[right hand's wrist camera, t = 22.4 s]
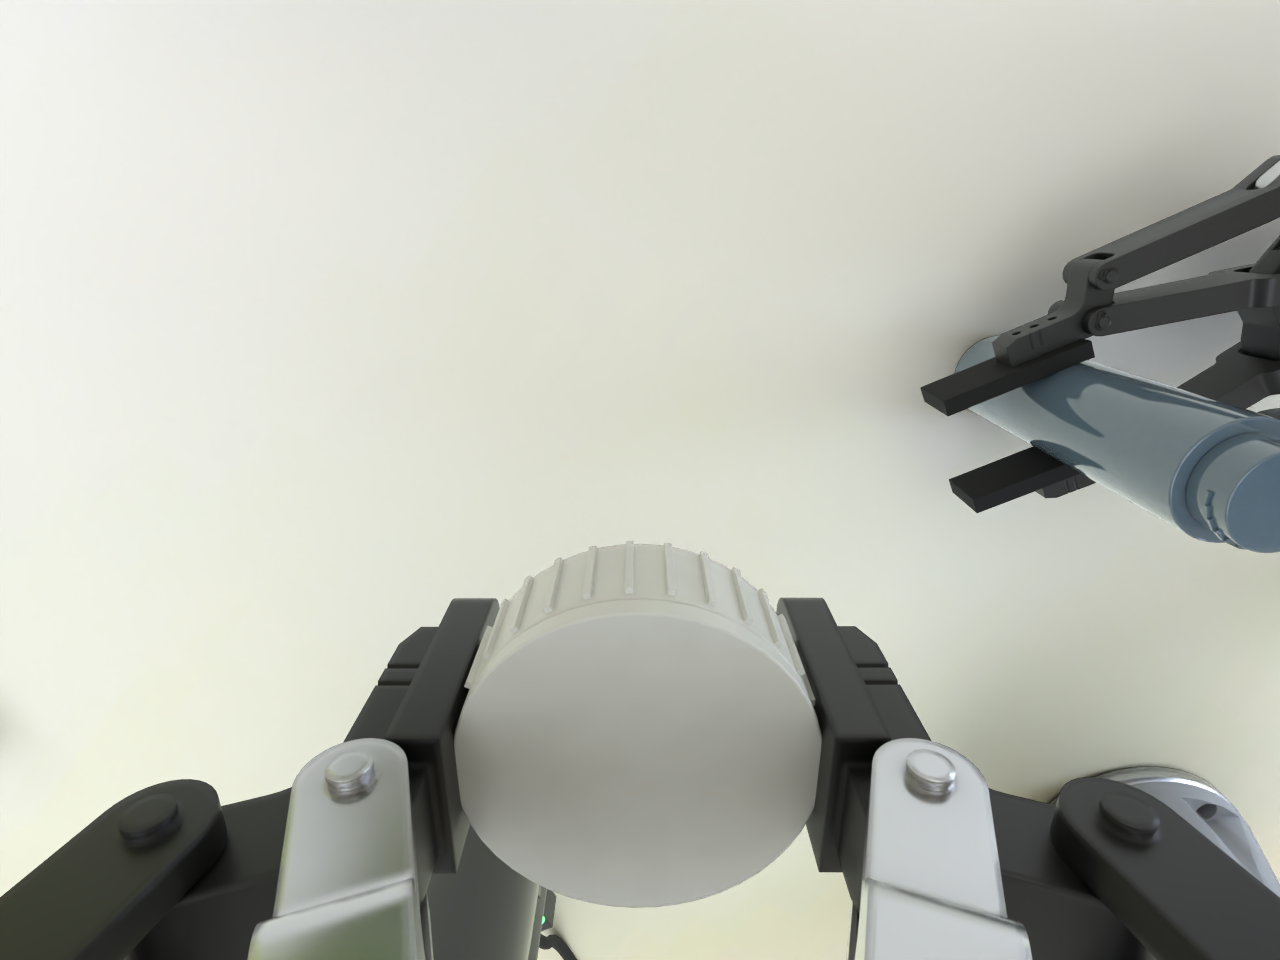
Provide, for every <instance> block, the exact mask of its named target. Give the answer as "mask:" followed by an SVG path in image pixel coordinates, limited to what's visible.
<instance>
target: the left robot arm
mask: <svg viewBox="0 0 1280 960" xmlns="http://www.w3.org/2000/svg"><path fill="white" fill-rule="evenodd" d="M1279 217H1280V155H1277V156H1273V157H1271V158H1269V159H1268V160H1266V161H1265V162H1264V163H1263V164H1262V165H1260V166H1259V167H1258V168H1257V169H1256V170H1254V171H1253V172H1252V173H1251V174H1250V175H1248V176H1247V177H1246V178H1245V179H1244V180H1242V181H1241V182H1240V183H1239V184H1237V185H1236V186H1235V187H1234V188H1233V189H1231V190H1229V191H1227V192H1225V193H1222V194H1220V195H1218V196H1216V197H1213V198H1211V199H1209V200H1207V201H1204V202H1202V203H1200V204H1198V205H1195V206H1193V207H1191V208H1188V209H1186V210H1184V211H1182V212H1179V213H1177V214H1175V215H1173V216H1170V217H1168V218H1166V219H1164V220H1161V221H1159V222H1157V223H1154V224H1152V225H1150V226H1148V227H1145V228H1143V229H1141V230H1139V231H1136V232H1134V233H1132V234H1130V235H1127V236H1125V237H1123V238H1121V239H1118V240H1116V241H1114V242H1111V243H1109V244H1107V245H1105V246H1102V247H1100V248H1098V249H1096V250H1093V251H1091V252H1089V253H1087V254H1084V255H1082V256H1080V257H1077V258H1075V259H1073V260H1072V261H1070V262H1068V264H1067V265H1066V266H1065V268H1064V271H1063V279H1064V281H1065V283H1067V284H1068V286H1067V293H1066V298H1065V301H1062V300H1060V301H1058V302H1055V303H1054V304H1053V305H1052V306H1051V307H1050V309H1049V311H1048V315H1046V316H1044V317H1041V318H1039V319H1037V320H1034V321H1032V322H1029V323H1027V324H1025V325H1023V326H1020V327H1017V328H1015V329H1013V330H1010V331H1008V332H1005V333H1003V334H1001V335H1000V336H999V337H998V338H996V339H995V340H994V341H993V342H992V346H993V350H994V354H995V357H994V358H991V359H989V360H986V361H984V362H981V363H979V364H977V365H974V366H972V367H969V368H967V369H964V370H962V371H960V372H957V373H955V374H952V375H950V376H947V377H945V378H943V379H940V380H938V381H935V382H933V383H930V384H928V385H926V386H923V387H921V391H922V394H923V398H924V401H925V402H926V403H928V404H929V405H931V406H933V407H934V408H936V409H937V410H939V411H941V412H942V413H944V414H945V415H947V416H950V415H952V414H955V413H957V412H960V411H962V410H965V409H967V408H970V407H972V406H975V405H977V404H980V403H982V402H985V401H987V400H990V399H992V398H995V397H997V396H999V395H1002V394H1004V393H1007V392H1009V391H1012V390H1014V389H1017V388H1019V387H1022V386H1024V385H1027V384H1029V383H1032V382H1034V381H1037V380H1039V379H1042V378H1044V377H1047V376H1049V375H1052V374H1054V373H1056V372H1059V371H1061V370H1064V369H1066V368H1069V367H1071V366H1074V365H1076V364H1079V363H1081V362H1084V361H1086V360H1089V359H1091V358H1094V357H1095V356H1094V351H1093V347H1092V342H1091V341H1089V340H1085V339H1086V338H1088V337H1091V336H1093V335H1094V336H1105V335H1111V334H1116V333H1121V332H1126V331H1132V330H1137V329H1142V328H1147V327H1153V326H1158V325H1163V324H1168V323H1174V322H1179V321H1184V320H1189V319H1195V318H1200V317H1205V316H1210V315H1216V314H1221V313H1226V312H1231V311H1238V313H1239V315H1240V317H1241V319H1242V321H1243V328H1242V335H1241V342H1239V343H1237V344H1236V345H1234V346H1232V347H1231V348H1229V349H1228V350H1226V351H1224V352H1223V353H1221V354H1220V355H1218V356H1217V358H1216V363H1215V364H1214V365H1213V366H1211V367H1210V368H1208V369H1206V370H1205V371H1203V372H1202V373H1200V374H1198V375H1197V376H1195V377H1193V378H1192V379H1190V380H1189V381H1187V382H1185V383H1184V384H1182V385H1180V386H1179V387H1177V388H1179V389H1182V390H1185V391H1188V392H1192V393H1195V394H1198V395H1201V396H1205V397H1208V398H1211V399H1214V400H1218V401H1221V402H1224V403H1227V404H1230V405H1234V406H1237V407H1240V408H1243V409H1246V408H1248V407H1250V406H1251V405H1253V404H1255V403H1256V402H1258V401H1260V400H1261V399H1263V398H1265V397H1267V396H1269V395H1275V394H1280V236H1279V237H1278V238H1277V239H1276V240H1275V241H1274V243H1273V244H1272V245H1271V246H1270V247H1269V248H1268V250H1267V251H1266V252H1265V253H1264V254H1263V256H1262V257H1261V258H1260V259H1259V260H1258V261H1257V263H1256V264H1251V265H1246V266H1241V267H1236V268H1230V269H1225V270H1220V271H1215V272H1211V273H1209V275H1207V276H1202V277H1197V278H1191V279H1186V280H1181V281H1176V282H1171V283H1166V284H1160V285H1155V286H1150V287H1145V288H1140V289H1135V290H1130V291H1124V292H1119V293H1114V289H1115V288H1117V287H1120V286H1122V285H1124V284H1127V283H1129V282H1131V281H1134V280H1136V279H1138V278H1141V277H1143V276H1145V275H1148V274H1150V273H1152V272H1154V271H1157V270H1159V269H1161V268H1164V267H1166V266H1168V265H1171V264H1173V263H1175V262H1178V261H1180V260H1182V259H1185V258H1187V257H1189V256H1192V255H1194V254H1196V253H1199V252H1201V251H1203V250H1205V249H1208V248H1210V247H1212V246H1215V245H1217V244H1219V243H1222V242H1224V241H1226V240H1229V239H1231V238H1233V237H1236V236H1238V235H1240V234H1243V233H1245V232H1247V231H1250V230H1252V229H1254V228H1256V227H1259V226H1261V225H1263V224H1266V223H1268V222H1270V221H1272V220H1274V219H1277V218H1279ZM1257 413H1259V414H1263V415H1266V416H1269V417H1272V418H1276V419H1279V420H1280V408H1276V409H1269V410H1264V411H1260V412H1257ZM949 482H950V485H951V488H952V491H953V493H954V494H955V495H957V496H958V497H959V498H960V499H961V500H962V501H964V502H965V503H966V504H967V505H968V506H969V507H971V508H972V509H973V510H974V511H975V512H976V513H979V512H982V511H984V510H987V509H989V508H992V507H995V506H997V505H1000V504H1002V503H1005V502H1008V501H1010V500H1013V499H1016V498H1018V497H1021V496H1023V495H1026V494H1029V493H1031V492H1034V491H1036V492H1037V493H1039V494H1040V495H1042V496H1043V497H1045V498H1057V497H1060V496H1062V495H1065V494H1068V493H1069V492H1073V491H1075V490H1077V489H1081V488H1083V487H1086V486H1089V485H1091V484H1094V483H1097V482H1095V481H1093V480H1092V479H1090V478H1088V477H1086V476H1085V475H1083V474H1081V473H1079V472H1078V471H1076V470H1074V469H1072V468H1071V467H1069V466H1067V465H1065V464H1064V463H1062V462H1060V461H1058V460H1057V459H1055V458H1053V457H1051V456H1050V455H1048V454H1046V453H1044V452H1043V451H1041V450H1039V449H1037V448H1036V447H1034V446H1033V447H1031V448H1028V449H1026V450H1023V451H1021V452H1018V453H1015V454H1013V455H1010V456H1008V457H1005V458H1003V459H1000V460H997V461H995V462H992V463H990V464H987V465H985V466H982V467H980V468H977V469H974V470H972V471H969V472H967V473H964V474H962V475H959V476H957V477H954V478H951V479H949ZM1096 777H1098V778H1105V779H1110V780H1115V781H1119V782H1122V783H1125V784H1128V785H1130V786H1133V787H1135V788H1138V789H1140V790H1142V791H1144V792H1146V793H1148V794H1150V795H1152V796H1153V797H1155V798H1157V799H1158V800H1160V801H1161V802H1163V803H1164V804H1166V805H1167V806H1168V807H1170V808H1171V809H1172V810H1174V811H1175V812H1176V813H1177V814H1178V815H1180V816H1181V817H1182V818H1183V819H1185V820H1186V821H1187V822H1188V823H1189V824H1191V825H1192V826H1193V827H1194V828H1196V829H1197V830H1198V831H1199V832H1200V833H1202V834H1203V835H1204V836H1205V837H1207V838H1208V839H1209V840H1210V841H1211V842H1213V843H1214V844H1215V845H1216V846H1218V847H1219V848H1220V849H1221V850H1222V851H1224V852H1225V853H1226V854H1227V855H1229V856H1230V857H1231V858H1232V859H1233V860H1235V861H1236V862H1237V863H1238V864H1239V865H1241V866H1242V867H1243V868H1244V869H1246V870H1247V871H1248V872H1249V873H1250V874H1252V875H1253V876H1254V877H1255V878H1257V879H1258V880H1259V881H1260V882H1261V883H1263V884H1264V885H1265V886H1266V887H1268V888H1269V889H1270V890H1271V891H1272V892H1274V893H1275V894H1276V895H1277V896H1279V897H1280V884H1279V882H1278V880H1277V878H1276V876H1275V874H1274V872H1273V871H1272V869H1271V867H1270V865H1269V863H1268V861H1267V859H1266V857H1265V856H1264V854H1263V852H1262V850H1261V848H1260V846H1259V844H1258V842H1257V841H1256V839H1255V837H1254V835H1253V833H1252V831H1251V829H1250V827H1249V826H1248V824H1247V823H1246V821H1245V820H1244V819H1243V817H1242V816H1241V815H1240V814H1239V812H1238V811H1237V810H1236V808H1235V807H1234V806H1233V805H1232V804H1231V803H1230V802H1229V801H1228V800H1227V799H1226V798H1225V797H1224V796H1223V795H1222V794H1221V793H1220V792H1219V791H1218V790H1217V789H1216V788H1215V787H1213V786H1212V785H1211V784H1210V783H1208V782H1207V781H1205V780H1203V779H1202V778H1200V777H1198V776H1196V775H1193V774H1191V773H1188V772H1185V771H1181V770H1177V769H1172V768H1165V767H1135V768H1127V769H1122V770H1117V771H1112V772H1109V773H1105V774H1102V775H1099V776H1096ZM1058 797H1059V796H1058ZM1058 797H1057V798H1055V799H1054V800H1053V801H1052V802H1050V803H1049V804H1051V805H1055V806H1056V804H1057V801H1058Z"/></svg>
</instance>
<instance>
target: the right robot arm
mask: <svg viewBox="0 0 1280 960" xmlns="http://www.w3.org/2000/svg"><path fill="white" fill-rule="evenodd" d="M498 612H499V603H498V601H497V599H495V598H455V599H453V600H452V601H451V603H450V605H449V607H448V609H447V611H446V613H445V615H444V617H443V619H442V621H441V623H440V625H439V627H421V628H419V629H418V630H417V631H415V632H414V633H413V634H412V635H410V636H409V637H408V638H407V639H405V640H404V641H403V642H401V643H400V644H399V645H398V647H397V649H396V651H395V652H394V654H393V656H392V658H391V659H390V661H389V663H388V668H387V669H385V670H384V672H383V674H382V675H381V677H380V679H379V681H378V686H375V688H374V689H373V691H372V693H371V695H370V696H369V698H368V700H367V702H366V703H365V705H364V707H363V709H362V710H361V712H360V714H359V716H358V717H357V719H356V721H355V723H354V724H353V726H352V728H351V730H350V732H349V733H348V735H347V737H346V739H345V740H344V742H343V743H341V744H338V745H336V746H333V747H331V748H329V749H327V750H325V751H324V752H322V753H320V754H319V755H317V756H316V757H314V758H313V759H312V760H311V761H309V762H308V763H307V764H306V765H305V766H304V767H303V768H302V770H301V771H300V772H299V774H298V775H297V777H296V779H295V780H294V782H293V786H292V787H291V788H288V789H286V790H283V791H280V792H277V793H274V794H270V795H266V796H262V797H258V798H254V799H250V800H245V801H241V802H237V803H233V804H229V805H225V806H221V805H220V801H219V797H218V795H217V792H216V790H215V789H214V788H213V787H212V786H211V785H209V784H207V783H205V782H202V781H199V780H192V779H181V780H174V781H168V782H164V783H159V784H156V785H153V786H150V787H147V788H145V789H143V790H140V791H138V792H136V793H134V794H132V795H130V796H128V797H126V798H124V799H123V800H121V801H120V802H118V803H116V804H115V805H113V806H112V807H111V808H109V809H108V810H107V811H105V812H104V813H103V814H102V815H100V816H99V817H98V818H97V819H95V820H94V821H93V822H92V823H91V824H89V825H88V826H87V827H86V828H84V829H83V830H82V831H81V832H80V833H78V834H77V835H76V836H75V837H73V838H72V839H71V840H70V841H69V842H67V843H66V844H65V845H64V846H62V847H61V848H60V849H59V850H58V851H56V852H55V853H54V854H53V855H51V856H50V857H49V858H48V859H47V860H45V861H44V862H43V863H42V864H40V865H39V866H38V867H37V868H36V869H34V870H33V871H32V872H31V873H29V874H28V875H27V876H26V877H25V878H23V879H22V880H21V881H20V882H19V883H17V884H16V885H15V886H14V887H12V888H11V889H10V890H9V891H8V892H6V893H5V894H4V895H3V896H1V897H0V960H537V956H538V949H539V947H540V948H542V949H550V948H551V947H553V948H554V949H555V950H557V951H558V953H559V954H560V955H561V956H562V958H563V959H564V960H576V958H575V956H574V955H573V953H572V952H571V950H570V949H569V948H568V946H567V945H566V944H565V943H564V942H563V941H562V940H561V939H560V938H559V937H557V936H556V935H549V936H548V937H545V936H543V935H542V934H541V931H543V930H546V929H549V928H551V927H552V926H553V918H554V910H555V902H556V896H555V894H554V893H553V892H552V891H551V890H549V889H547V888H545V887H543V886H541V885H539V884H537V883H535V882H533V881H531V880H529V879H527V878H526V877H524V876H523V875H521V874H519V873H518V872H516V871H515V870H513V869H512V868H511V867H509V866H508V865H507V864H506V863H504V862H503V861H502V860H501V859H500V858H498V857H497V856H496V855H495V854H494V853H493V852H492V851H491V850H490V849H489V847H488V846H487V845H486V844H485V843H484V842H483V841H482V840H481V838H480V837H479V836H478V834H477V833H476V831H475V830H474V829H473V827H472V826H471V824H470V822H469V820H468V818H467V817H466V815H465V813H464V811H463V809H462V806H461V800H460V792H459V783H458V775H457V766H456V758H455V748H454V734H455V729H456V726H457V723H458V720H459V717H460V714H461V711H462V708H463V706H464V703H465V700H466V697H467V695H468V692H469V689H468V688H466V687H464V686H465V683H466V680H467V678H468V675H469V672H470V670H471V667H472V664H473V662H474V659H475V656H476V654H477V651H478V648H479V646H480V643H481V640H482V638H483V635H484V632H485V630H486V628H487V626H490V627H493V625H494V623H495V620H496V617H497V614H498ZM776 614H777V615H778V616H779V615H781V614H783V616H784V617H785V619H786V622H787V625H788V627H789V630H790V633H791V635H792V638H793V641H794V642H795V645H796V648H797V651H798V653H799V656H800V659H801V662H802V664H803V667H804V670H805V673H806V675H807V678H808V681H809V684H810V686H811V689H812V692H813V695H814V697H815V706H813V707H814V710H815V713H816V716H817V718H818V722H819V726H820V730H821V733H822V744H821V754H820V763H819V771H818V780H817V789H816V798H815V805H814V809H813V811H812V814H811V816H810V817H809V819H808V821H807V822H806V826H807V830H808V833H809V837H810V841H811V844H812V848H813V852H814V855H815V859H816V863H817V866H818V870H819V872H843V874H844V878H845V881H846V884H847V887H848V890H849V894H850V897H851V900H852V904H851V911H850V920H849V933H848V945H847V958H846V960H1280V897H1279V896H1277V895H1276V894H1275V893H1274V892H1272V891H1271V890H1270V889H1269V888H1268V887H1266V886H1265V885H1264V884H1263V883H1261V882H1260V881H1259V880H1258V879H1257V878H1255V877H1254V876H1253V875H1252V874H1250V873H1249V872H1248V871H1247V870H1246V869H1244V868H1243V867H1242V866H1241V865H1239V864H1238V863H1237V862H1236V861H1235V860H1233V859H1232V858H1231V857H1230V856H1229V855H1227V854H1226V853H1225V852H1224V851H1222V850H1221V849H1220V848H1219V847H1218V846H1216V845H1215V844H1214V843H1213V842H1211V841H1210V840H1209V839H1208V838H1207V837H1205V836H1204V835H1203V834H1202V833H1200V832H1199V831H1198V830H1197V829H1196V828H1194V827H1193V826H1192V825H1191V824H1189V823H1188V822H1187V821H1186V820H1185V819H1183V818H1182V817H1181V816H1180V815H1178V814H1177V813H1176V812H1175V811H1174V810H1172V809H1171V808H1170V807H1168V806H1167V805H1166V804H1164V803H1163V802H1161V801H1160V800H1158V799H1157V798H1155V797H1153V796H1152V795H1150V794H1148V793H1146V792H1144V791H1142V790H1140V789H1138V788H1135V787H1133V786H1130V785H1128V784H1125V783H1122V782H1119V781H1115V780H1110V779H1105V778H1098V777H1084V778H1078V779H1075V780H1071V781H1070V782H1068V783H1066V784H1065V785H1064V786H1063V787H1062V789H1061V791H1060V794H1059V797H1058V801H1057V804H1056V806H1055V805H1051V804H1047V803H1043V802H1039V801H1034V800H1030V799H1026V798H1022V797H1018V796H1014V795H1009V794H1005V793H1002V792H998V791H995V790H992V789H990V788H988V786H987V782H986V781H985V779H984V777H983V775H982V774H981V772H980V771H979V770H978V768H977V767H976V766H975V765H974V764H973V763H972V762H971V761H969V760H968V759H967V758H966V757H964V756H963V755H961V754H960V753H958V752H956V751H955V750H953V749H951V748H949V747H947V746H944V745H942V744H939V743H936V742H932V741H931V739H930V737H929V736H928V734H927V732H926V730H925V729H924V727H923V725H922V723H921V721H920V720H919V718H918V716H917V714H916V712H915V711H914V709H913V707H912V705H911V704H910V702H909V700H908V698H907V696H906V695H905V693H904V691H903V689H902V688H901V686H900V685H898V683H897V681H898V680H897V679H896V677H895V675H894V673H893V671H892V670H891V668H888V663H887V661H886V659H885V657H884V655H883V654H882V652H881V650H880V648H879V647H878V645H877V643H875V642H874V641H873V640H872V639H870V638H869V637H868V636H867V635H865V634H864V633H863V632H862V631H860V630H859V629H858V628H857V627H855V626H837V625H836V622H835V620H834V618H833V616H832V614H831V612H830V610H829V608H828V606H827V604H826V602H825V600H824V599H823V598H780V599H779V601H778V605H777V613H776Z"/></svg>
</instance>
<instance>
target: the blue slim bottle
mask: <svg viewBox="0 0 1280 960" xmlns="http://www.w3.org/2000/svg"><path fill="white" fill-rule="evenodd" d="M999 336H1000V335H998V336H992V337H988V338H986V339H983V340H981V341H979V342H978V343H976V344H975V345H973V346H972V347H971V348H970V349H968V350H967V352H966V353H965V354H964V355H963V356H962V358H961V359H960V361H959V363H958V365H957V368H956V371H955V373H957V372H960V371H962V370H964V369H967V368H969V367H972V366H974V365H977V364H979V363H981V362H984V361H986V360H989V359H991V358H994V357H995V354H994V350H993V346H992V342H993V341H994V340H995V339H996V338H998V337H999ZM968 409H969V410H971V411H973V412H975V413H976V414H978V415H980V416H982V417H983V418H985V419H987V420H989V421H990V422H992V423H994V424H996V425H997V426H999V427H1001V428H1003V429H1004V430H1006V431H1008V432H1010V433H1011V434H1013V435H1015V436H1016V437H1018V438H1020V439H1022V440H1023V441H1025V442H1027V443H1029V444H1030V445H1032V446H1034V447H1036V448H1037V449H1039V450H1041V451H1043V452H1044V453H1046V454H1048V455H1050V456H1051V457H1053V458H1055V459H1057V460H1058V461H1060V462H1062V463H1064V464H1065V465H1067V466H1069V467H1071V468H1072V469H1074V470H1076V471H1078V472H1079V473H1081V474H1083V475H1085V476H1086V477H1088V478H1090V479H1092V480H1093V481H1095V482H1097V483H1099V484H1100V485H1102V486H1104V487H1106V488H1107V489H1109V490H1111V491H1113V492H1114V493H1116V494H1118V495H1120V496H1121V497H1123V498H1125V499H1126V500H1128V501H1130V502H1132V503H1133V504H1135V505H1137V506H1139V507H1140V508H1142V509H1144V510H1146V511H1147V512H1149V513H1151V514H1153V515H1154V516H1156V517H1158V518H1160V519H1161V520H1163V521H1165V522H1167V523H1168V524H1170V525H1172V526H1174V527H1175V528H1177V529H1179V530H1181V531H1182V532H1184V533H1186V534H1188V535H1189V536H1191V537H1193V538H1196V539H1198V540H1202V541H1206V542H1215V543H1225V542H1226V543H1228V544H1230V545H1232V546H1234V547H1237V548H1239V549H1246V550H1250V551H1254V552H1261V553H1273V552H1280V420H1279V419H1276V418H1272V417H1269V416H1266V415H1263V414H1259V413H1256V412H1253V411H1250V410H1247V409H1243V408H1240V407H1237V406H1234V405H1230V404H1227V403H1224V402H1221V401H1218V400H1214V399H1211V398H1208V397H1205V396H1201V395H1198V394H1195V393H1192V392H1188V391H1185V390H1182V389H1179V388H1176V387H1172V386H1169V385H1166V384H1163V383H1159V382H1156V381H1153V380H1150V379H1147V378H1143V377H1140V376H1137V375H1134V374H1130V373H1127V372H1124V371H1121V370H1118V369H1114V368H1111V367H1108V366H1105V365H1101V364H1098V363H1095V362H1092V361H1089V360H1086V361H1084V362H1081V363H1079V364H1076V365H1074V366H1071V367H1069V368H1066V369H1064V370H1061V371H1059V372H1056V373H1054V374H1052V375H1049V376H1047V377H1044V378H1042V379H1039V380H1037V381H1034V382H1032V383H1029V384H1027V385H1024V386H1022V387H1019V388H1017V389H1014V390H1012V391H1009V392H1007V393H1004V394H1002V395H999V396H997V397H995V398H992V399H990V400H987V401H985V402H982V403H980V404H977V405H975V406H972V407H970V408H968Z"/></svg>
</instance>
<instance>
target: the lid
mask: <svg viewBox="0 0 1280 960" xmlns="http://www.w3.org/2000/svg"><path fill="white" fill-rule="evenodd" d="M464 687H466V688H468V689H469V692H468V695H467V697H466V700H465V703H464V706H463V708H462V711H461V714H460V717H459V720H458V723H457V726H456V729H455V734H454V748H455V758H456V766H457V775H458V783H459V792H460V800H461V806H462V809H463V811H464V813H465V815H466V817H467V818H468V820H469V822H470V824H471V826H472V827H473V829H474V830H475V831H476V833H477V834H478V836H479V837H480V838H481V840H482V841H483V842H484V843H485V844H486V845H487V846H488V847H489V849H490V850H491V851H492V852H493V853H494V854H495V855H496V856H497V857H498V858H500V859H501V860H502V861H503V862H504V863H506V864H507V865H508V866H509V867H511V868H512V869H513V870H515V871H516V872H518V873H519V874H521V875H523V876H524V877H526V878H527V879H529V880H531V881H533V882H535V883H537V884H539V885H541V886H543V887H545V888H547V889H549V890H551V891H554V892H557V893H559V894H562V895H565V896H567V897H570V898H574V899H578V900H582V901H585V902H589V903H595V904H601V905H607V906H616V907H631V908H639V907H660V906H668V905H676V904H681V903H686V902H690V901H695V900H699V899H702V898H705V897H708V896H711V895H714V894H717V893H720V892H723V891H725V890H727V889H729V888H731V887H734V886H736V885H738V884H740V883H742V882H744V881H745V880H747V879H749V878H750V877H752V876H754V875H755V874H757V873H759V872H760V871H761V870H763V869H764V868H765V867H767V866H768V865H769V864H771V863H772V862H773V861H774V860H776V859H777V858H778V857H779V856H780V855H781V854H782V853H783V852H784V851H785V850H786V849H787V848H788V847H789V846H790V845H791V843H792V842H793V841H794V840H795V838H796V837H797V836H798V835H799V833H800V832H801V831H802V829H803V827H804V826H805V824H806V822H807V821H808V819H809V817H810V816H811V814H812V811H813V809H814V805H815V798H816V789H817V780H818V771H819V763H820V754H821V744H822V733H821V730H820V726H819V722H818V718H817V716H816V713H815V710H814V707H813V706H815V697H814V695H813V692H812V689H811V686H810V684H809V681H808V678H807V675H806V673H805V670H804V667H803V664H802V662H801V659H800V656H799V653H798V651H797V648H796V645H795V642H794V641H793V638H792V635H791V633H790V630H789V627H788V625H787V622H786V619H785V617H784V616H783V614H781V615H779V616H778V615H777V614H776V612H775V611H774V609H773V608H772V606H771V605H770V603H769V600H768V597H767V594H766V592H765V591H764V590H763V589H762V588H761V589H760V590H759V591H758V590H757V589H756V588H755V587H753V586H752V585H751V584H750V583H749V582H748V581H746V580H745V579H744V578H743V577H741V574H740V571H739V570H738V569H736V568H735V567H734V568H733V569H732V570H731V569H729V568H728V567H726V566H724V565H722V564H720V563H718V562H716V561H714V560H712V559H709V558H708V554H706V553H704V552H701V553H700V555H699V554H696V553H693V552H690V551H687V550H683V549H678V548H673V547H672V544H669V543H664V546H662V545H650V544H634V541H627V542H626V545H615V546H609V547H603V548H598V549H597V547H596V546H593V547H589V551H587V552H583V553H580V554H577V555H575V556H572V557H570V558H568V559H565V560H562V559H561V558H558V559H556V560H555V561H554V565H553V566H551V567H549V568H548V569H546V570H544V571H543V572H541V573H539V574H538V575H537V576H535V577H534V578H532V577H531V576H529V577H527V578H526V579H525V581H524V584H523V587H522V588H521V589H520V590H519V591H518V592H517V593H516V594H515V595H514V596H513V597H512V598H511V599H510V600H509V601H508V600H507V599H504V601H503V602H502V603H501V606H500V609H499V612H498V614H497V617H496V620H495V623H494V625H493V627H490V626H487V628H486V630H485V632H484V635H483V638H482V640H481V643H480V646H479V648H478V651H477V654H476V656H475V659H474V662H473V664H472V667H471V670H470V672H469V675H468V678H467V680H466V683H465V686H464Z"/></svg>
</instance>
